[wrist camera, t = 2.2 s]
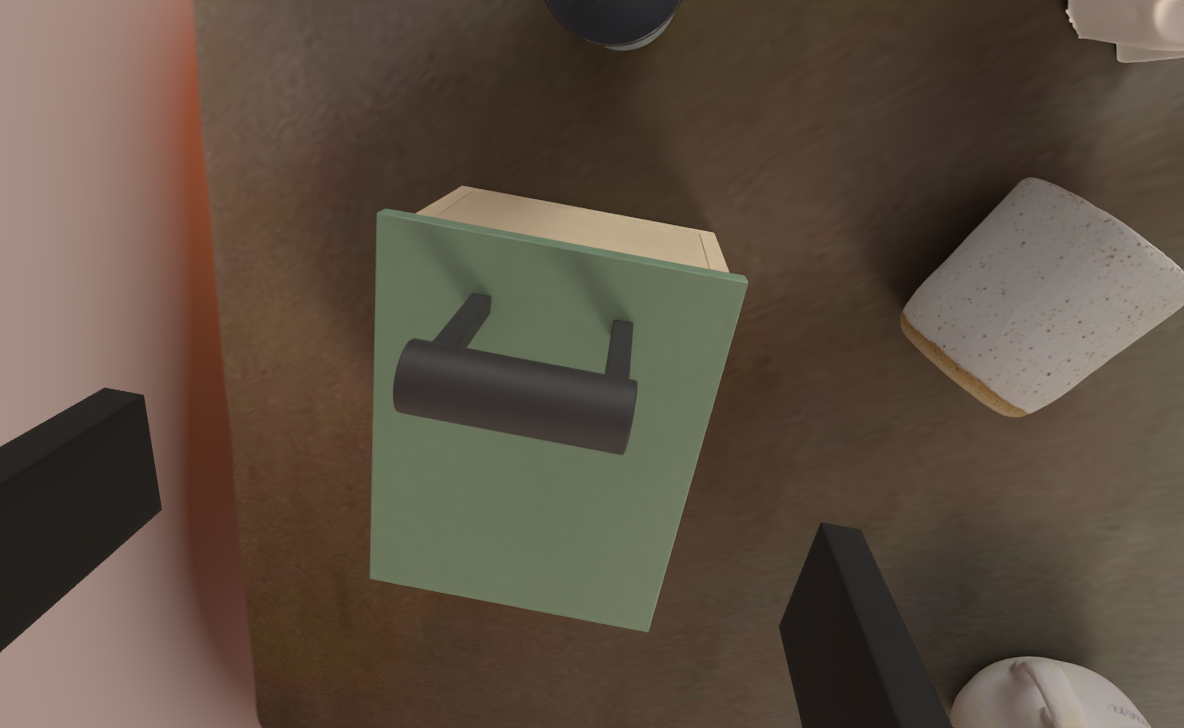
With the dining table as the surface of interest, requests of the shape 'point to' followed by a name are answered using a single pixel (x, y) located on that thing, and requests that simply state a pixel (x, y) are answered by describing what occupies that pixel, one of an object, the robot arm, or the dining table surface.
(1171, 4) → the shaker set
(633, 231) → the tan storage tray
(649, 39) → the coffee tin
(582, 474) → the lid
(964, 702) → the teacup
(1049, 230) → the ceramic mug
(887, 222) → the dining table surface
